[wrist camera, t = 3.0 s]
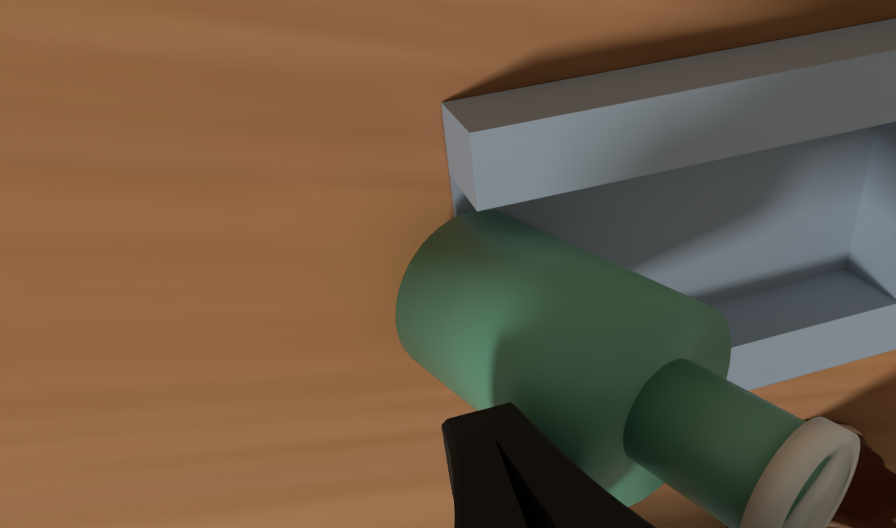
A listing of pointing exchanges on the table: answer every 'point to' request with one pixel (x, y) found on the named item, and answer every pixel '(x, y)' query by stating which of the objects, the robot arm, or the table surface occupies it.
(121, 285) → the table surface
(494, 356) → the bottle
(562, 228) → the cradle
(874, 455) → the coffee cup
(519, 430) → the robot arm
